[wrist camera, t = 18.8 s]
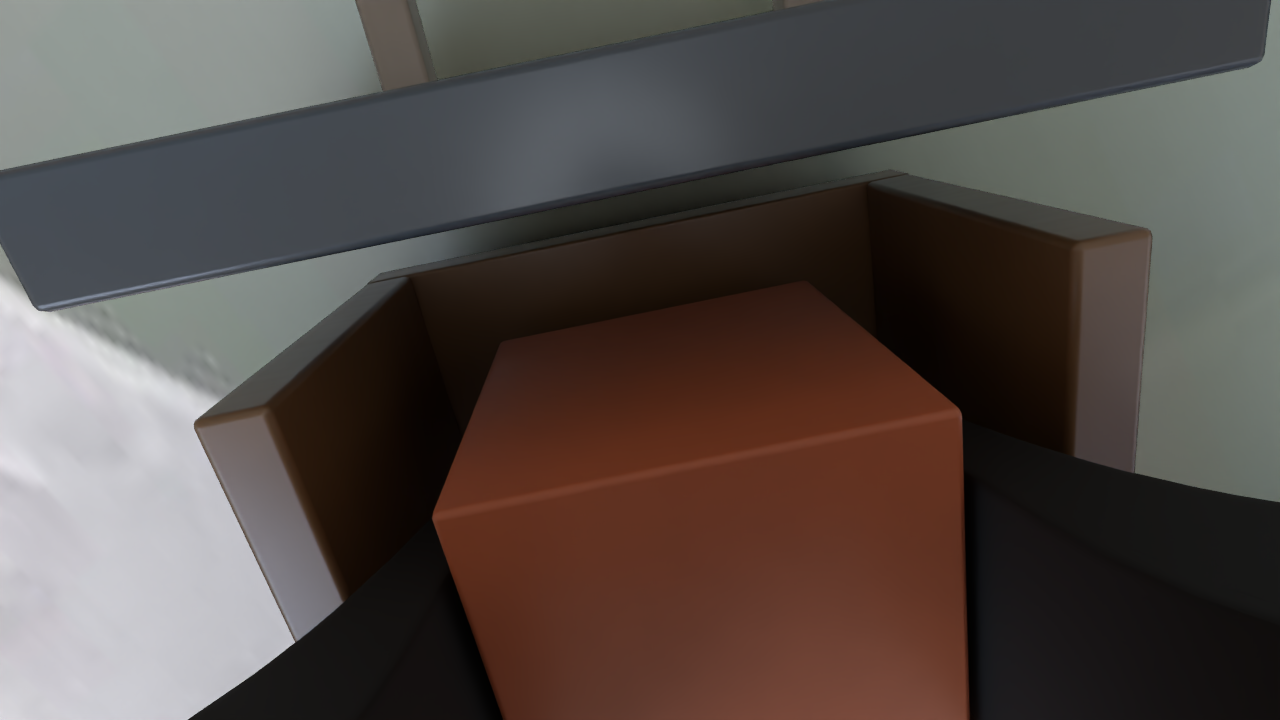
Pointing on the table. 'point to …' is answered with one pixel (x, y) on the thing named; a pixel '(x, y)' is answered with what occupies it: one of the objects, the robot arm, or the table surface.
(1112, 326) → the drawer
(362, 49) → the table surface
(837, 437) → the block
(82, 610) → the table surface
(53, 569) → the table surface
